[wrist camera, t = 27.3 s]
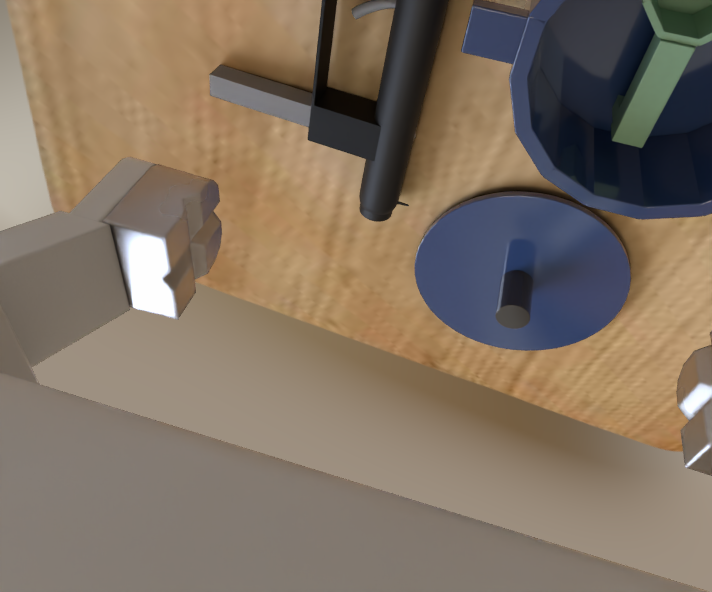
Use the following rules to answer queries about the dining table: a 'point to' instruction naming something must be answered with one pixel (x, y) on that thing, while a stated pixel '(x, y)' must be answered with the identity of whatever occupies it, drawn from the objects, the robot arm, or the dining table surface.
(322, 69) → the door handle
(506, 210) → the lid
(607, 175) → the pot
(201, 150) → the dining table surface
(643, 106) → the scoop
